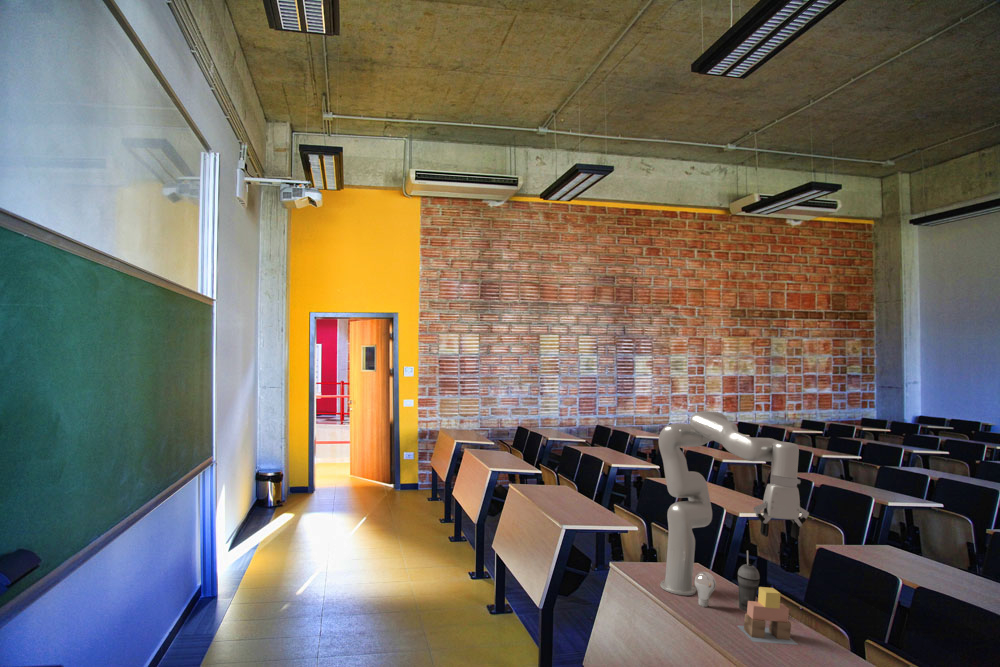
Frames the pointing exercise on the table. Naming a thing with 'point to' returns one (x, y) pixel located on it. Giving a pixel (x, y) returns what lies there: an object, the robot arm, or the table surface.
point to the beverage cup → (747, 584)
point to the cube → (769, 597)
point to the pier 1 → (754, 627)
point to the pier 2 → (780, 629)
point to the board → (768, 638)
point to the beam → (767, 612)
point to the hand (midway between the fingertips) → (779, 536)
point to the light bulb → (704, 587)
